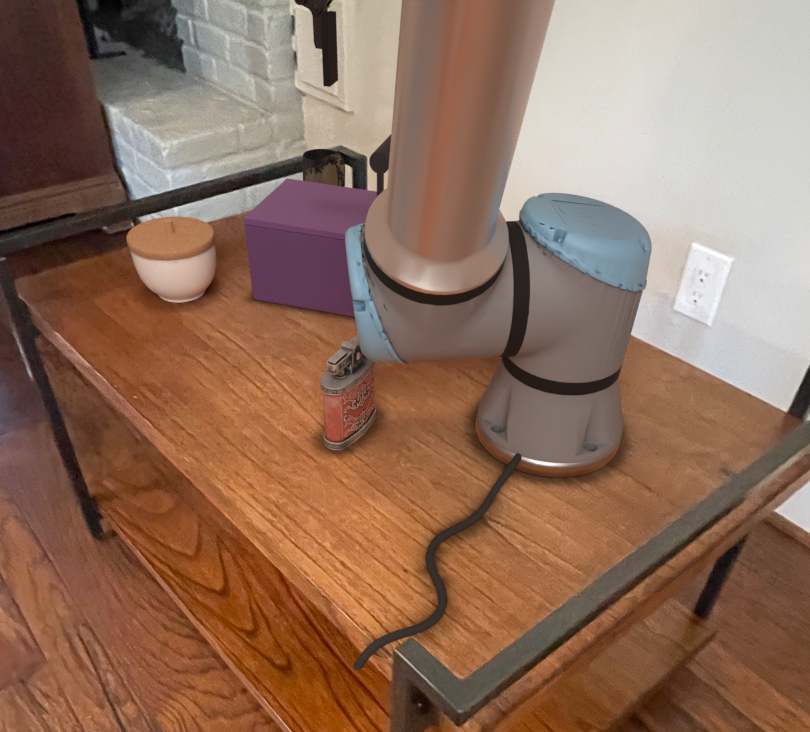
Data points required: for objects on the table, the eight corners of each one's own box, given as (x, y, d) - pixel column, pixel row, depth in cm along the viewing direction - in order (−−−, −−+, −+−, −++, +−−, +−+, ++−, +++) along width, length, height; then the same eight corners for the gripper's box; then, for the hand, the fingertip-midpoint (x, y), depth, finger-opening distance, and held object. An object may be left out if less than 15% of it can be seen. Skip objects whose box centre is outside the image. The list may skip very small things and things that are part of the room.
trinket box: (214, 313, 96) (202, 240, 89) (130, 310, 96) (111, 237, 89) (229, 274, 103) (219, 204, 97) (151, 271, 103) (136, 201, 97)
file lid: (411, 202, 98) (414, 125, 91) (379, 245, 88) (380, 163, 82) (287, 184, 101) (281, 108, 94) (243, 224, 92) (233, 142, 85)
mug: (298, 230, 114) (292, 145, 105) (328, 221, 116) (324, 137, 108) (328, 249, 110) (324, 162, 101) (358, 239, 112) (357, 154, 104)
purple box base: (403, 273, 105) (405, 202, 98) (373, 320, 96) (373, 245, 89) (293, 255, 108) (287, 184, 101) (253, 299, 99) (244, 224, 92)
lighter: (356, 404, 83) (354, 322, 76) (383, 413, 82) (383, 331, 75) (316, 443, 78) (310, 359, 71) (344, 454, 77) (341, 369, 70)
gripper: (535, -169, 68) (506, 93, 83) (280, -183, 73) (296, 69, 88) (520, -165, 63) (492, 113, 78) (247, -181, 68) (270, 86, 83)
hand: (388, 90), depth 83 cm, fingers open, 13 cm apart
